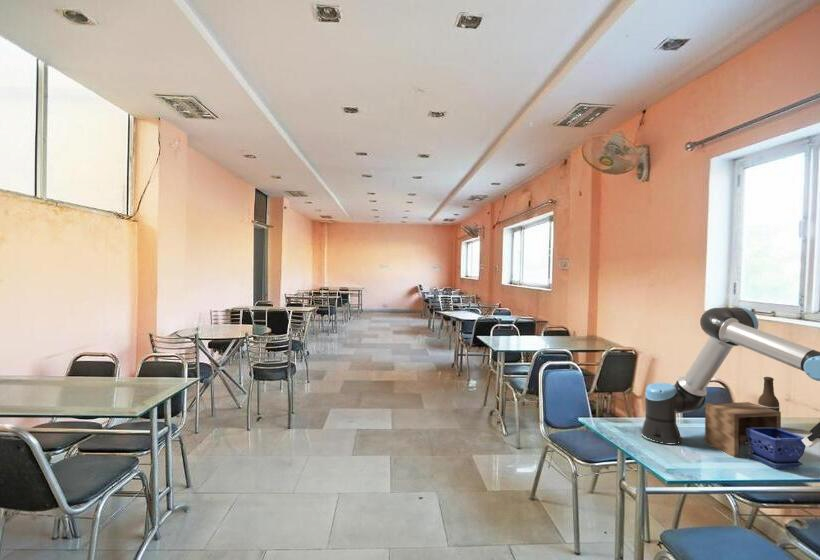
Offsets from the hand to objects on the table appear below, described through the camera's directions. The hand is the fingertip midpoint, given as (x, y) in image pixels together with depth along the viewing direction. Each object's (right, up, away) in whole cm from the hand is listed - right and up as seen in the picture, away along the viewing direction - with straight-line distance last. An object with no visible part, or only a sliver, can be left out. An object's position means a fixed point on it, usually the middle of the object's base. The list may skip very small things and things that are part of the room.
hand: (805, 443), depth 151 cm
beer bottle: (+29, -12, +50) cm, 59 cm away
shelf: (-3, -12, +25) cm, 28 cm away
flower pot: (-2, -12, +11) cm, 16 cm away
